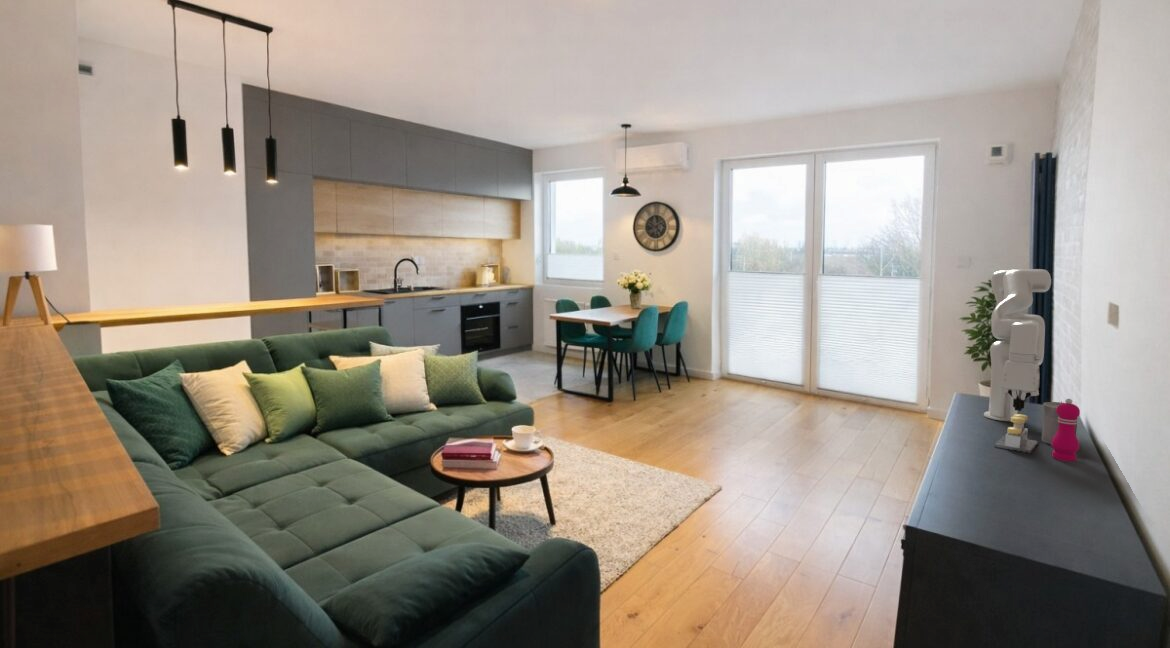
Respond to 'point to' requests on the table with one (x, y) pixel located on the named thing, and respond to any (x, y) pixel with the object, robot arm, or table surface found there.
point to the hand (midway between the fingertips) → (1018, 409)
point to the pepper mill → (1066, 432)
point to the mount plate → (1016, 442)
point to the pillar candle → (1050, 421)
